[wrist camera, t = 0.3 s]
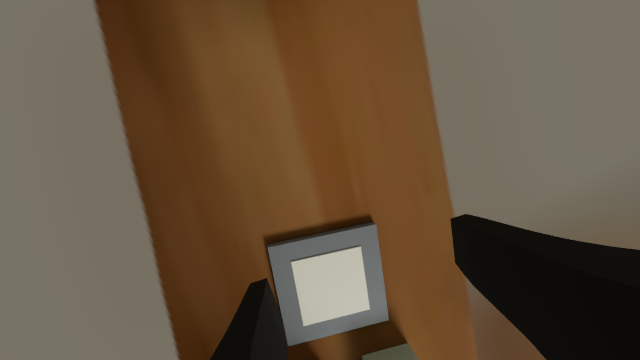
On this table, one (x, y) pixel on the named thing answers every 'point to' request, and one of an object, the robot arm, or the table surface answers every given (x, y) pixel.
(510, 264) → the robot arm
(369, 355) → the sage block
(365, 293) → the grey flat square tile
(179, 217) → the table surface
